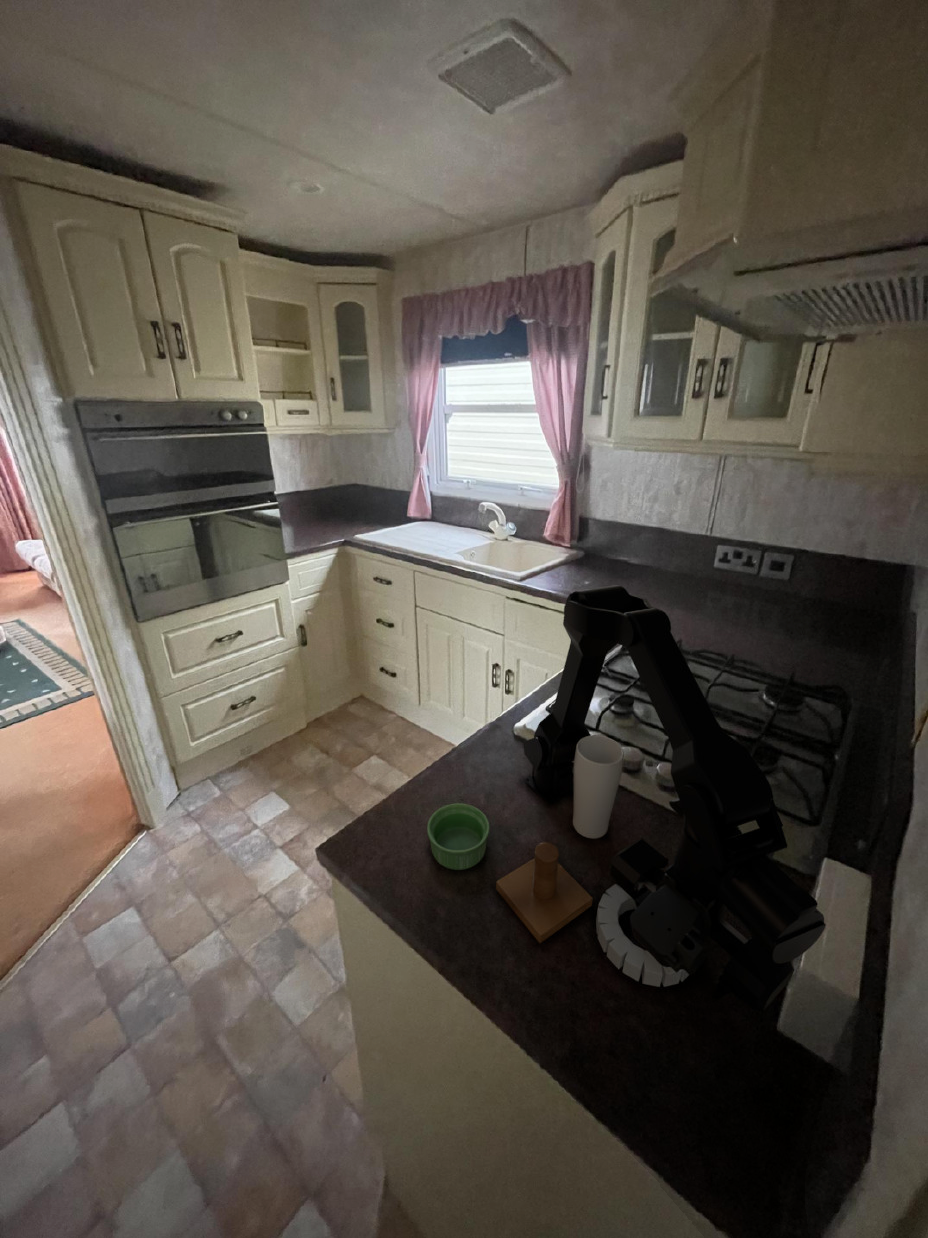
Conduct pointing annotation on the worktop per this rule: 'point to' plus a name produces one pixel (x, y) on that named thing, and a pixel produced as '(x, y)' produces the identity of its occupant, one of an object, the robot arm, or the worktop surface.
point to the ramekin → (458, 835)
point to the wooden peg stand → (544, 893)
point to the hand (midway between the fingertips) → (679, 961)
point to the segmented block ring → (629, 943)
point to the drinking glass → (595, 783)
